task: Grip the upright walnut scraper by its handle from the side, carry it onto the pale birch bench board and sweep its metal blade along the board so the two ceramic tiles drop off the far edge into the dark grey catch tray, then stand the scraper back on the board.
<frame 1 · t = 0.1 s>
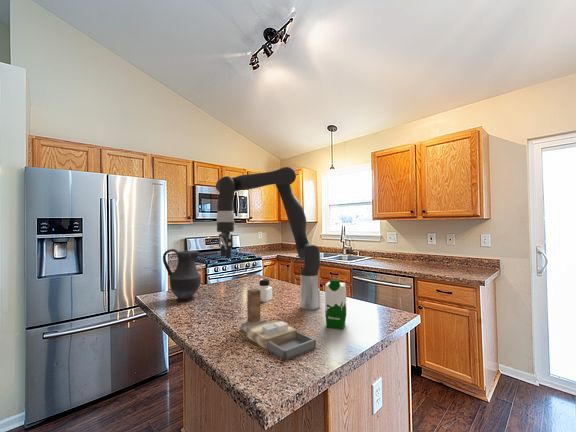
hand: (225, 257, 121), 29 cm above the countertop, tool pointing down, fingers open, 8 cm apart
scraper: (253, 328, 114), on the countertop
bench: (271, 337, 104), on the countertop
tray: (291, 349, 94), on the countertop
tile a: (280, 328, 104), point 3 cm above the countertop, touching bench
pitcher: (182, 300, 157), on the countertop
milk carton: (336, 326, 116), on the countertop
tile b: (269, 332, 100), point 3 cm above the countertop, touching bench
medicine bottle: (264, 300, 157), on the countertop
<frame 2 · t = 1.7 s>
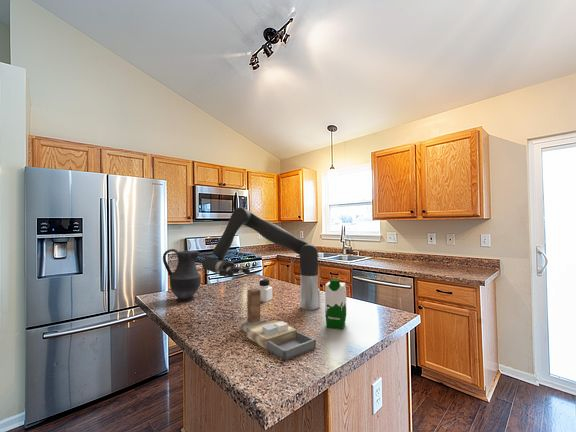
hand: (241, 273, 123), 22 cm above the countertop, tool horizontal, fingers open, 8 cm apart
nothing on the countertop moved.
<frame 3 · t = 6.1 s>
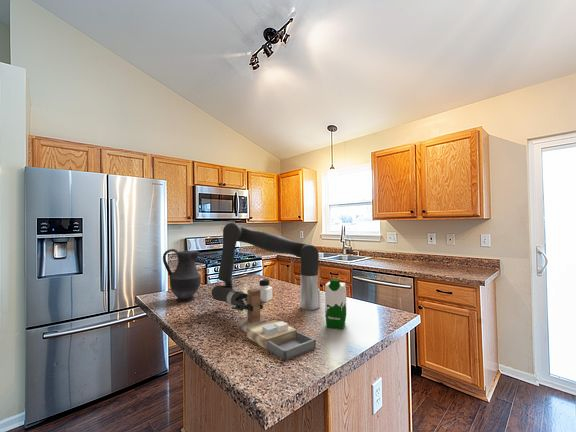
hand: (257, 307, 112), 9 cm above the countertop, tool horizontal, fingers closed on scraper, 4 cm apart
scraper: (253, 327, 114), on the countertop, touching gripper
everything else where it was.
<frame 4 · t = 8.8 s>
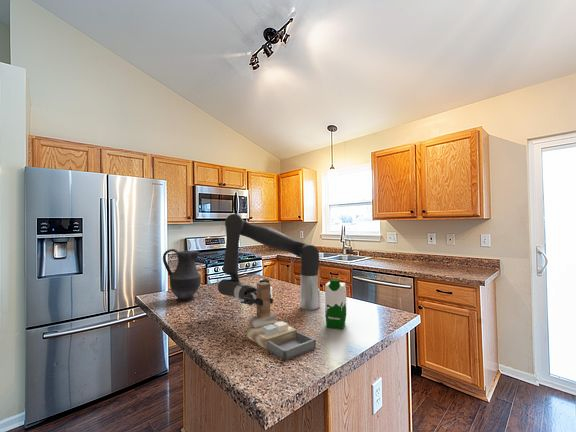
hand: (267, 302, 106), 13 cm above the countertop, tool horizontal, fingers closed on scraper, 4 cm apart
scraper: (263, 323, 108), point 4 cm above the countertop, touching gripper
everything else where it was.
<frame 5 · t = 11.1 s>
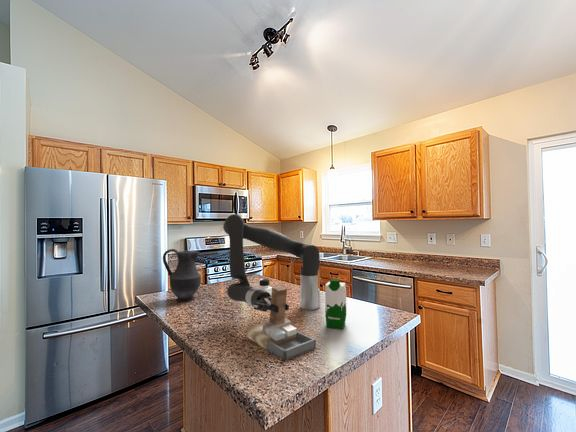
hand: (283, 308, 98), 13 cm above the countertop, tool horizontal, fingers closed on scraper, 4 cm apart
scraper: (276, 329, 101), point 4 cm above the countertop, tilted 7°, touching gripper, tile b
tile a: (288, 333, 100), point 3 cm above the countertop, tilted 7°
tile b: (277, 336, 97), point 3 cm above the countertop, tilted 8°, touching scraper
everything else where it was.
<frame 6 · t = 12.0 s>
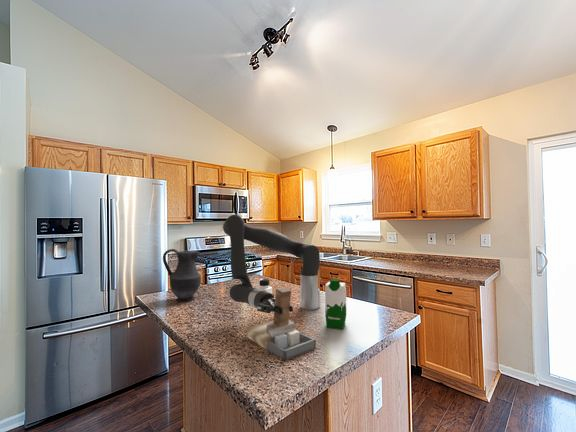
hand: (287, 310, 97), 13 cm above the countertop, tool horizontal, fingers closed on scraper, 4 cm apart
scraper: (280, 331, 100), point 4 cm above the countertop, tilted 8°, touching gripper
tile a: (291, 336, 99), point 2 cm above the countertop, tilted 90°, touching tray
tile b: (279, 340, 95), point 2 cm above the countertop, tilted 90°, touching tray
everything else where it was.
when the fingers open (14 cm above the countertop, at t = 15.4 s): scraper drops 1 cm, resting on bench.
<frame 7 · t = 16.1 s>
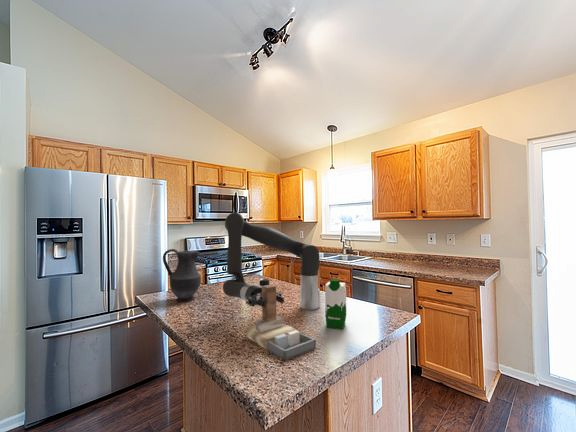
hand: (274, 302, 103), 14 cm above the countertop, tool horizontal, fingers open, 8 cm apart
scraper: (269, 327, 105), point 4 cm above the countertop, touching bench
everything else where it was.
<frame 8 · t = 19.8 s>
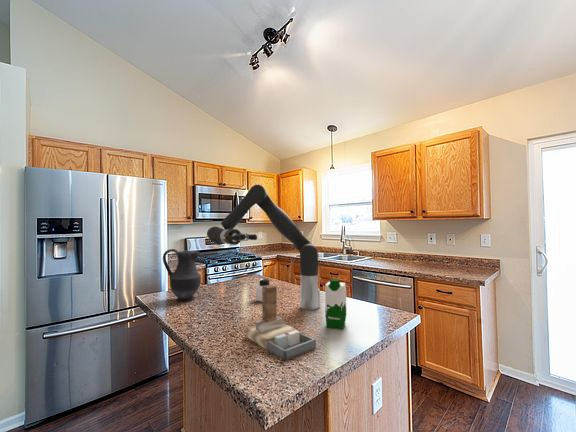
hand: (247, 237, 118), 38 cm above the countertop, tool horizontal, fingers open, 8 cm apart
nothing on the countertop moved.
at the end: tile a touching tray; tile b touching tray; tile b point 2.5 cm above the countertop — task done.
